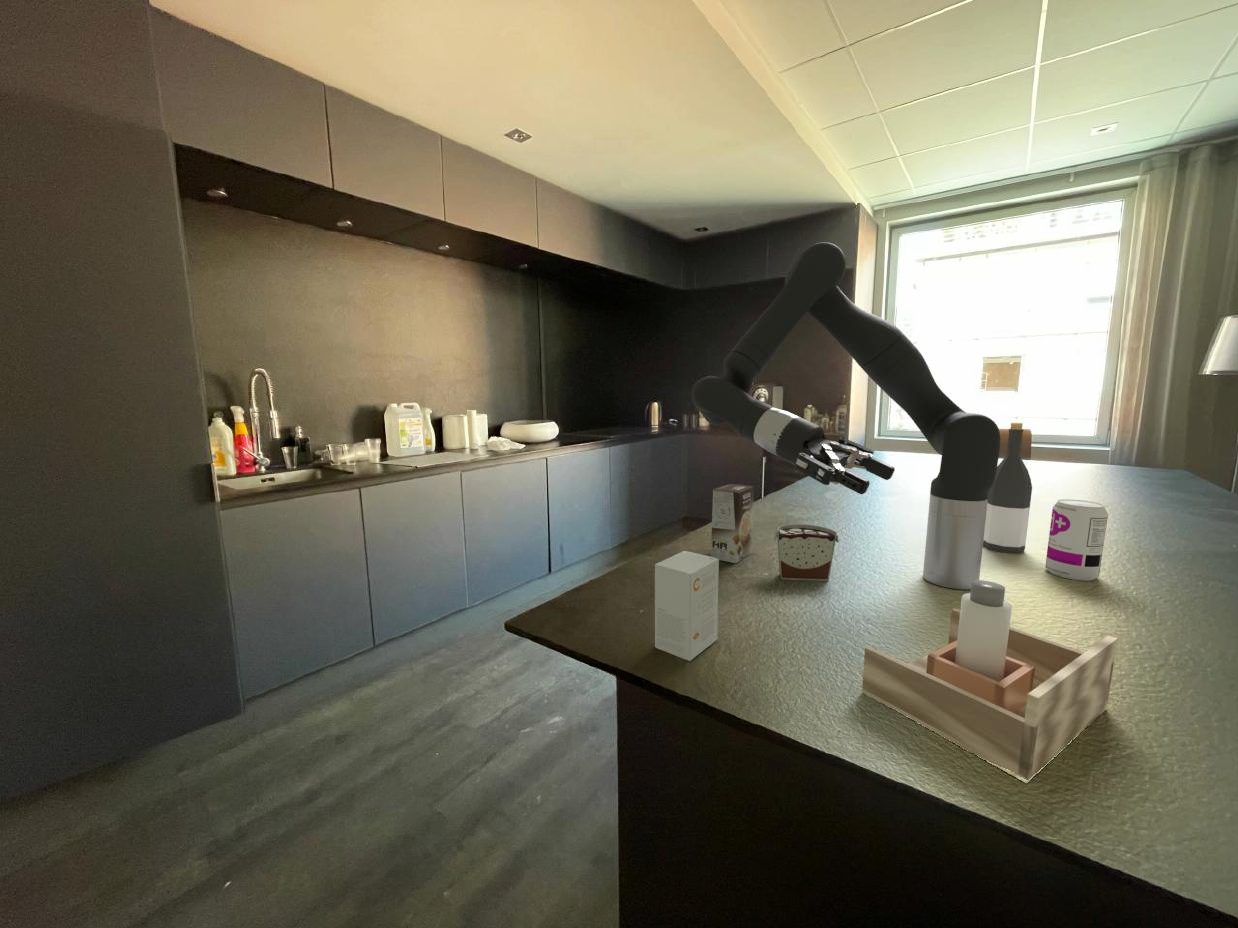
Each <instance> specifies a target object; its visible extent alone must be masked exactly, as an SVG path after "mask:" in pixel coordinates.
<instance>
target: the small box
mask: <svg viewBox="0 0 1238 928" xmlns="http://www.w3.org/2000/svg"><path fill="white" fill-rule="evenodd" d="M719 565H720V560H719V559H717V558H714V557H711V555H710V556H709V555H705V554H701V553H696V552H692V551H688V550H683V551H680V552H679V553H677V554H674V555H672V556H669V557H667V558H665V559H663V560H662V561H659V562H657V563H655V564H654V647H655V648H656V649H658V650H660V651H662V652H665V653H668V654H670V655H673V656H675V657H678V658H680V659H682V660H686V661H688V662H691V661H692V660H693V659H695V658H696V657H697V656H698V655H700V654H701V653H702V652H703V651H705V650H706V649H707V648H708V647H710V646H711V645H712V644H714V643H715V642H716V641H718V623H719V622H718V620H719V619H718V617H719V616H718V612H719V611H718V610H719V609H718V608H719V574H720V573H719V569H720V567H719Z"/></svg>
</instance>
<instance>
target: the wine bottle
mask: <svg viewBox="0 0 1238 928" xmlns="http://www.w3.org/2000/svg"><path fill="white" fill-rule="evenodd" d="M1023 433H1024V429H1023V422H1011V423H1010V428H1009V429H1008V439H1007V449H1006V455H1005V456H1004V458H1003V459H1002V461H1001V462H1000V463H998V465H997V471H996V477H995V481H994V484H993V485H992V487H991V489H990V490H989V494H988V502H987V512H986V522H985V531H984V541H983V548H986V549H987V550H991V551H995V552H999V553H1004V554H1005V553H1006V554H1018V555H1019V554H1021V553H1024V552H1025V549H1026V541H1027V534H1028V527H1029V518H1030V509H1031V503H1032V502H1031V500H1032V493H1033V491H1032V490H1033V484H1032V479H1031V476H1030V474H1029V470H1028V468H1027V467H1026V464H1025V463H1024V461H1023V459H1022V457H1021V450H1022V449H1021V448H1022V441H1023Z"/></svg>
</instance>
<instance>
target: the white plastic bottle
mask: <svg viewBox="0 0 1238 928" xmlns="http://www.w3.org/2000/svg"><path fill="white" fill-rule="evenodd" d="M1005 593H1006V587H1005V586H1004V585H1002V584H1000V583H997V582H993V581H989V580H983V579H981V580H980V579H979V580H974V581H972V583H971V589H970V592H967V593H964V594H962V596H961V602H960V609H959V610H960V619H959V628H958V638H957V647H956V657H955V664H958V665H960V666H962V667H965V668H967V669H969V670H972V671H974V672H976V673H979V674H981V675H983V676H986V677H988V678H990V679H993V680H995V681H997V682H1000V681H1001V680H1003V677H1004V668H1005V660H1006V652H1007V644H1008V635H1009V627H1011V626H1010V625H1011V618H1012V609H1013V606H1012V604H1011V603H1010V602H1009V601H1007V600H1006V599H1005Z"/></svg>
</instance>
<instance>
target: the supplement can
mask: <svg viewBox="0 0 1238 928" xmlns="http://www.w3.org/2000/svg"><path fill="white" fill-rule="evenodd" d="M1108 517H1109V513H1108V511H1107V509H1106V506H1105V505H1104V504H1102V503H1100V502H1099V503H1098V502H1095V501H1091V500H1090V501H1089V500H1080V499H1069V498H1067V499H1066V498H1063V499H1058V500H1057V502H1056V503H1055V504H1054V505H1053V506H1052V510H1051V519H1050V524H1049V533H1048V542H1047V548H1046V549H1047V550H1046V558H1045V563H1044V568H1045V569H1047V570H1048V572H1049V573H1050V574H1052V575H1054V576H1057V577H1060V578H1064V579H1069V580H1073V581H1083V582H1084V581H1085V582H1089V581H1094V580H1096V579H1097V578H1100V573H1101V567H1102V560H1103V559H1102V558H1103V553H1104V546H1105V539H1106V531H1107V524H1108Z"/></svg>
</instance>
